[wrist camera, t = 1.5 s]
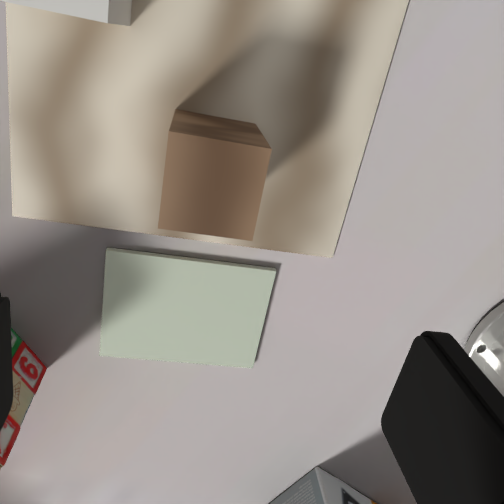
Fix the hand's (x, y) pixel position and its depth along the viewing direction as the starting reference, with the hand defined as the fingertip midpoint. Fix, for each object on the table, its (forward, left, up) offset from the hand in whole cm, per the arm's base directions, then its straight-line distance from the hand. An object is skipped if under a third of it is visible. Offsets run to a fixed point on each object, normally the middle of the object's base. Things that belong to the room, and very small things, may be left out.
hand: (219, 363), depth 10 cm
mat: (0, +12, -21) cm, 24 cm away
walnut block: (0, 0, -20) cm, 20 cm away
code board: (+1, -4, -21) cm, 21 cm away
